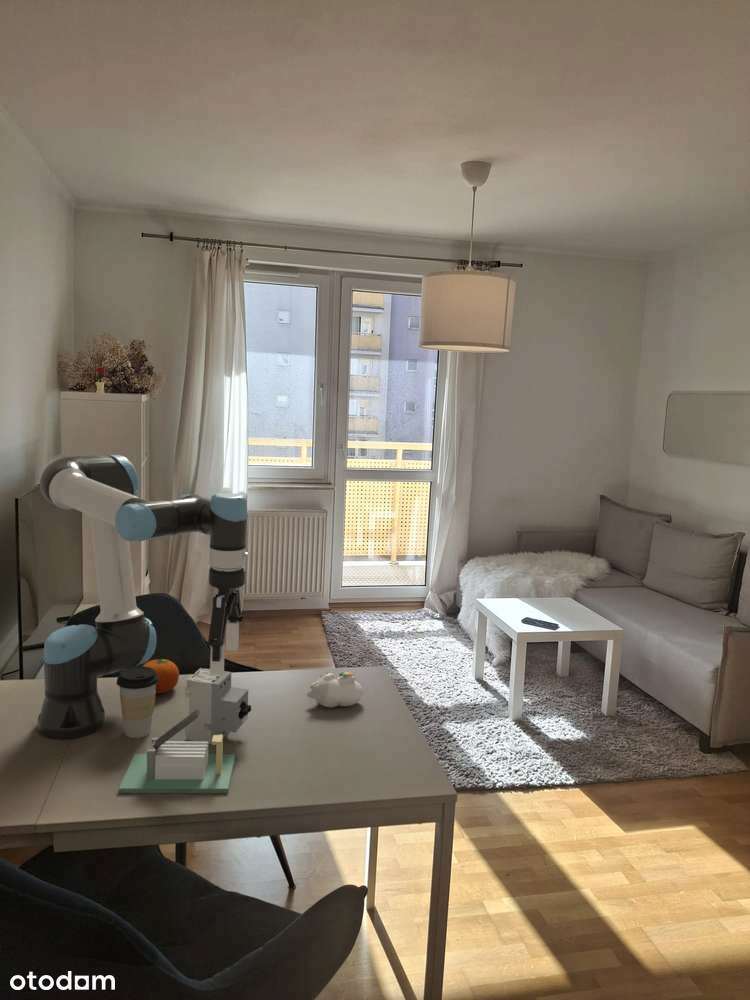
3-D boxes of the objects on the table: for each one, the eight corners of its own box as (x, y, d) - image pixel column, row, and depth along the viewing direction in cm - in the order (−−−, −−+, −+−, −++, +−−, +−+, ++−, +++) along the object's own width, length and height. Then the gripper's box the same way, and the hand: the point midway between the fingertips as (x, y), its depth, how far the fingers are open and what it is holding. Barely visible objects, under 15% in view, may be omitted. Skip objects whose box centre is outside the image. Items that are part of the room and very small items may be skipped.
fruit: (156, 702, 192) (156, 673, 191) (130, 691, 197) (130, 663, 196) (187, 689, 201) (187, 661, 200) (161, 679, 206) (161, 652, 205)
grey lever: (151, 753, 155) (147, 749, 155) (154, 746, 158) (151, 742, 158) (198, 718, 154) (194, 714, 154) (200, 711, 157) (197, 707, 157)
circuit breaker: (242, 748, 170) (243, 687, 168) (184, 740, 173) (185, 679, 170) (253, 734, 177) (255, 675, 175) (198, 725, 180) (199, 667, 178)
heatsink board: (118, 793, 150) (118, 754, 148) (135, 758, 164) (135, 722, 162) (228, 793, 152) (228, 754, 150) (235, 758, 166) (235, 723, 164)
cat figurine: (365, 667, 198) (311, 665, 193) (370, 693, 192) (315, 691, 187) (355, 689, 203) (302, 687, 198) (360, 714, 197) (306, 713, 192)
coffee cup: (135, 745, 169) (135, 684, 167) (108, 733, 174) (107, 673, 171) (166, 730, 177) (167, 671, 174) (140, 719, 182) (140, 661, 179)
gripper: (231, 584, 143) (228, 687, 146) (256, 553, 167) (253, 642, 171) (193, 581, 143) (191, 684, 147) (223, 551, 168) (221, 640, 171)
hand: (224, 662), depth 159 cm, fingers open, 13 cm apart
